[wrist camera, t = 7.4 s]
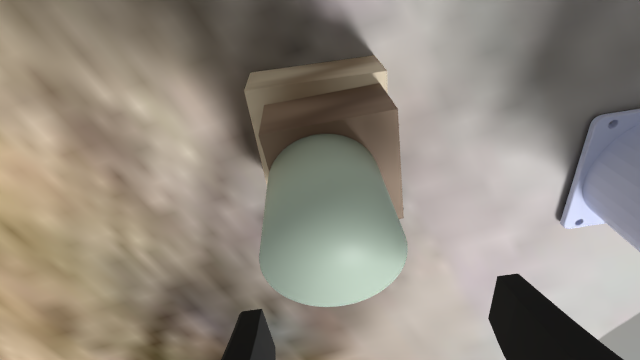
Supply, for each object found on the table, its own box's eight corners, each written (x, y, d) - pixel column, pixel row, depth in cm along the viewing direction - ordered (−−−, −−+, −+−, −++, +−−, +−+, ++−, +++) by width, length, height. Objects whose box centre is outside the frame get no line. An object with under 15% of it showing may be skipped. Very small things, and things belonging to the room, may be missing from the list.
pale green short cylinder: (379, 126, 13) (410, 191, 9) (380, 220, 15) (405, 298, 12) (257, 141, 13) (244, 210, 9) (278, 232, 15) (273, 314, 12)
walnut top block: (379, 83, 15) (397, 108, 12) (387, 180, 17) (403, 218, 15) (264, 104, 15) (258, 134, 12) (289, 198, 18) (289, 238, 15)
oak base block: (372, 53, 17) (387, 70, 14) (376, 159, 20) (388, 188, 18) (250, 70, 17) (244, 90, 15) (274, 173, 20) (271, 204, 18)
